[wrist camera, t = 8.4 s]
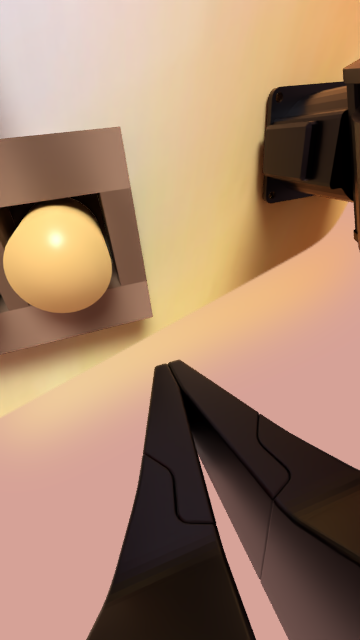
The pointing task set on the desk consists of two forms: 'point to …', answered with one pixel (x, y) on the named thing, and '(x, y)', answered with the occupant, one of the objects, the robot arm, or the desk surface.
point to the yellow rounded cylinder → (58, 257)
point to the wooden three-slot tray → (118, 216)
